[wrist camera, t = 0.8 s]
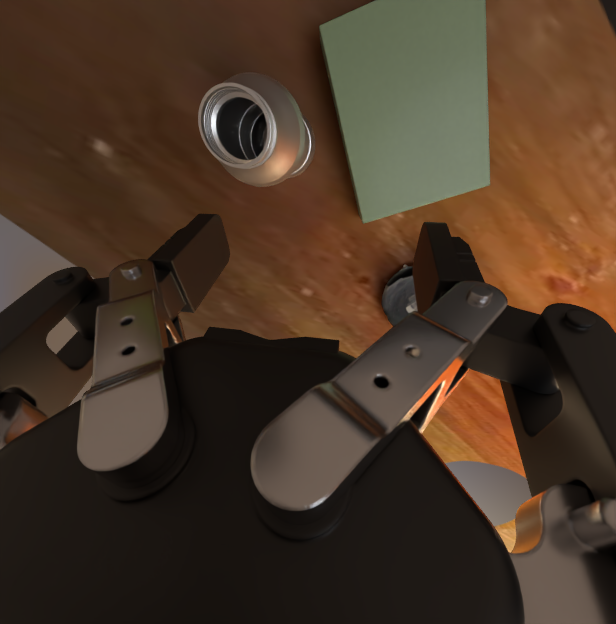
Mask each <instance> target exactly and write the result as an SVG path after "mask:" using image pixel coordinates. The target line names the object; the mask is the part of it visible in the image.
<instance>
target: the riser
mask: <svg viewBox="0 0 616 624" xmlns="http://www.w3.org/2000/svg"><path fill="white" fill-rule="evenodd" d="M319 30H320V43H321V48H322V52H323V57H324V61H325V66H326V70H327V74H328V79H329V83H330V88H331V92H332V97H333V101H334V105H335V110H336V114H337V119H338V123H339V127H340V132H341V136H342V141H343V145H344V150H345V154H346V158H347V163H348V167H349V172H350V176H351V181H352V185H353V189H354V194H355V198H356V203H357V207H358V212H359V216H360V218H361V220H362V222H363V223H367V222H370V221H373V220H377V219H380V218H383V217H387V216H390V215H393V214H397V213H400V212H403V211H406V210H410V209H413V208H416V207H420V206H423V205H426V204H430V203H433V202H436V201H439V200H443V199H446V198H449V197H453V196H456V195H459V194H463V193H466V192H469V191H472V190H476V189H479V188H482V187H486V186H489V185H490V163H489V124H488V85H487V45H486V6H485V0H375V1H373V2H370V3H368V4H366V5H364V6H362V7H359V8H357V9H355V10H353V11H351V12H348V13H346V14H344V15H342V16H340V17H337V18H335V19H333V20H331V21H329V22H326V23H324V24H322V25H320V26H319Z"/></svg>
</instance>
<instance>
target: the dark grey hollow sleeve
mask: <svg viewBox="0 0 616 624" xmlns="http://www.w3.org/2000/svg"><path fill="white" fill-rule="evenodd" d="M382 307H383V308H384V312H385V314H386V315H387V317H388V320H389V322H390V323H391V324H392V325H393V326H395V325H396V324H397V323H398V322H400V321H401V320H402V319H403V318H404V317H405V316H407V315H408V314H409V313H410V312H412V311H417V312H418V310H417V303H416V295H415V288H414V281H413V266H407V265H404V266H403V268H402V269H401V270H400V271H398V272H397V273H396V274H395V275H394V276H393V277H392V278H391V279H390V280H389V281H388V283H387V285H386V287H385V290H384V292H383V296H382Z"/></svg>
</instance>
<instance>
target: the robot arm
mask: <svg viewBox="0 0 616 624" xmlns="http://www.w3.org/2000/svg"><path fill="white" fill-rule="evenodd" d="M229 257H230V250H229V246H228V242H227V238H226V234H225V231H224V227H223V223H222V220H221V218H220V216H219V215H217V214H198V215H197V216H196V217H195V218H194V219H193V220H192V221H191V222H190V223H189V224H188V225H187V226H186V227H184V228H182V229H180V230H178V231H177V232H176V233H175V234H174V235H173V236H172V237H171V239H169V240H168V241H166V242H165V245H162V246H161V247H160V248H159V249H158V250H157V251H156V252H155V253H154V254H153V255H152V256H151V257H150V258H149V259H148V260H146V259H137V260H132V261H128V262H125V263H123V264H121V265H119V266H117V267H116V268H114V269H113V270H112V271H111V273H110V275H109V277H106V278H99V279H92V277H91V276H90V275H89V273H88V272H87V270H86V269H85V268H82V267H71V268H66V269H63V270H60V271H57V272H55V273H53V274H51V275H49V276H48V277H46V278H45V279H43V280H42V281H41V282H40V283H38V284H37V285H36V286H34V287H33V288H32V289H31V290H29V291H28V292H27V293H25V294H24V295H23V296H21V297H20V298H19V299H18V300H16V301H15V302H14V303H12V304H11V305H10V306H8V307H7V308H6V309H5V310H3V311H2V312H1V313H0V624H616V333H615V332H614V330H613V329H612V328H611V326H610V325H609V324H608V322H606V321H605V320H604V319H603V318H602V317H600V316H599V315H597V314H596V313H594V312H592V311H590V310H588V309H585V308H583V307H580V306H576V305H572V304H565V303H556V304H552V305H549V306H547V307H546V308H545V309H544V311H543V312H542V314H541V315H539V314H536V313H532V312H528V311H525V310H521V309H517V308H514V307H511V306H509V305H507V303H508V302H507V298H506V296H505V295H504V294H503V293H502V292H501V291H500V290H499V289H497V288H496V287H494V286H492V285H490V284H487V283H485V282H484V279H483V277H482V275H481V272H480V270H479V268H478V265H477V263H476V262H475V258H474V256H473V255H472V251H471V249H470V247H469V245H468V244H467V243H466V242H465V241H463V240H462V239H461V238H460V237H451V235H450V232H449V229H448V227H447V224H446V223H436V222H424V223H423V225H422V228H421V232H420V236H419V241H418V245H417V249H416V253H415V257H414V262H413V281H414V288H415V295H416V303H417V310H418V312H417V311H412V312H410V313H409V314H408V315H407V316H405V317H404V318H403V319H402V320H401V321H400V322H398V323H397V324H396V325H395V326H394V327H393V328H391V329H390V330H389V331H388V332H387V333H386V334H384V335H383V336H382V337H381V338H380V339H379V340H377V341H376V342H375V343H374V344H373V345H372V346H370V347H369V348H368V349H367V350H366V351H365V352H363V353H362V354H361V355H360V356H359V357H358V358H354V357H353V356H351V355H348V354H346V353H344V352H341V351H339V340H331V339H321V338H312V337H299V338H288V339H277V340H268V339H264V338H261V337H258V336H256V335H253V334H250V333H247V332H244V331H241V330H235V329H225V328H216V327H209V328H208V330H207V332H206V333H205V335H204V337H197V338H193V339H189V340H186V338H185V334H184V330H183V326H182V323H181V320H180V318H179V316H178V314H179V313H180V311H182V312H192V313H194V312H195V310H196V309H197V308H198V306H199V305H200V303H201V302H202V300H203V299H204V297H205V296H206V294H207V293H208V291H209V290H210V288H211V287H212V285H213V284H214V282H215V281H216V279H217V278H218V276H219V275H220V274H221V272H222V271H223V269H224V268H225V266H226V265H227V263H228V261H229ZM64 317H66V318H67V319H68V320H69V321H70V323H71V324H72V325H73V326H74V327H75V328H76V330H77V331H78V332H77V333H76V334H75V335H74V336H73V337H72V338H71V339H70V340H69V341H68V342H67V343H66V345H65V346H64V347H63V348H62V349H61V350H60V351H59V352H58V353H57V354H55V353H54V352H52V351H51V350H50V349H49V347H48V346H47V344H46V337H47V334H48V333H49V332H50V331H51V330H52V328H54V327H55V326H56V325H57V324H58V323H59V322H60V321H61V320H62V319H63V318H64ZM470 369H472V370H475V371H478V372H480V373H483V374H486V375H489V376H491V377H494V378H497V379H500V382H501V386H502V390H503V393H504V397H505V401H506V404H507V408H508V412H509V415H510V419H511V423H512V426H513V430H514V434H515V437H516V441H517V445H518V448H519V452H520V455H521V459H522V463H523V466H524V470H525V474H526V477H527V481H528V484H529V488H530V492H531V496H532V498H531V499H530V500H528V501H526V502H525V503H523V504H522V505H521V506H520V507H519V509H518V510H517V514H516V519H515V524H516V543H515V546H514V549H513V550H512V552H511V553H509V552H508V550H507V548H506V546H505V544H504V542H503V541H502V539H501V537H500V535H499V534H498V532H497V530H496V529H495V527H494V526H493V525H492V523H491V522H490V520H489V519H488V518H487V516H486V515H485V514H484V513H483V511H482V510H481V509H480V508H479V506H478V505H477V504H476V502H475V501H474V500H473V499H472V497H471V496H470V495H469V494H468V492H467V491H466V490H465V488H464V487H463V486H462V485H461V483H460V482H459V481H458V480H457V478H456V477H455V476H454V474H452V472H451V471H450V469H449V468H448V467H447V466H446V464H445V463H444V462H443V460H442V459H441V458H440V457H439V455H438V454H437V453H436V452H435V450H434V449H433V448H432V446H431V445H430V444H429V443H428V441H427V440H426V439H425V438H424V436H423V435H422V434H421V433H422V432H423V430H424V429H425V428H426V426H427V425H428V424H429V422H430V421H431V419H432V418H433V417H434V415H435V413H436V412H437V410H438V409H439V408H440V406H441V405H442V404H443V402H444V401H445V400H446V399H447V397H448V396H449V395H450V394H451V392H452V391H453V390H454V389H455V388H456V386H457V385H458V384H459V383H460V381H461V380H462V379H463V378H464V376H465V375H466V374H467V373H468V372H469V370H470ZM91 376H92V386H91V388H90V390H88V391H86V392H85V393H84V395H83V397H82V399H81V400H79V401H77V402H76V403H74V404H72V405H70V406H69V404H70V403H71V402H72V401H73V399H74V398H75V397H76V395H77V394H78V393H79V392H80V390H81V389H82V388H83V386H84V385H85V384H86V383H87V381H88V380H89V379H90V378H91ZM68 406H69V407H68Z"/></svg>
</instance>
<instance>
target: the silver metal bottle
mask: <svg viewBox="0 0 616 624" xmlns="http://www.w3.org/2000/svg"><path fill="white" fill-rule="evenodd" d="M198 124H199V129H200V133H201V136H202V139H203V141H204V143H205V145H206V147H207V148H208V149H209V151H210V152H211V153H212V154H213V155H214V156H215V157H216V158H217V159H218V161H219V162H220V163H221V164H222V166H223V167H224V168H225V169H226V170H227V171H228V172H229V173H230V174H231V175H232V176H233V177H235V178H236V179H238V180H239V181H241V182H244V183H246V184H248V185H252V186H257V187H268V186H272V185H276V184H278V183H280V182H282V181H284V180H285V179H286V178H292V177H295V176H298V175H300V174H301V173H302V172H304V171H305V170H306V169H307V167H308V166H309V165H310V163H311V161H312V159H313V156H314V152H315V137H314V132H313V129H312V127H311V125H310V123H309V121H308V120H307V118H306V117H305V116H304V115H303V114H302V113H301V112H300V109H299V106H298V104H297V103H296V101H295V100H294V98H293V96H292V95H291V94H290V93H289V91H288V90H287V89H286V88H285V87H284V86H283V85H282V84H280V83H279V82H278V81H276V80H275V79H273V78H271V77H269V76H267V75H264V74H260V73H256V72H247V73H241V74H238V75H234V76H232V77H231V78H229V79H227V80H226V81H224V82H223V83H222V84H218V85H216V86H214V87H213V88H211V89H210V90H209V91H208V92H207V93H206V94H205V96H204V98H203V99H202V102H201V104H200V107H199V113H198Z"/></svg>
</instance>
